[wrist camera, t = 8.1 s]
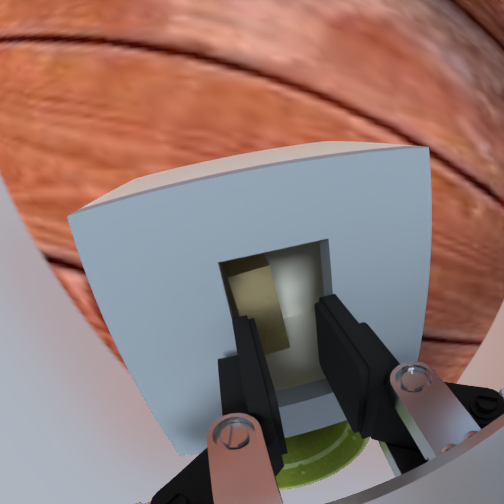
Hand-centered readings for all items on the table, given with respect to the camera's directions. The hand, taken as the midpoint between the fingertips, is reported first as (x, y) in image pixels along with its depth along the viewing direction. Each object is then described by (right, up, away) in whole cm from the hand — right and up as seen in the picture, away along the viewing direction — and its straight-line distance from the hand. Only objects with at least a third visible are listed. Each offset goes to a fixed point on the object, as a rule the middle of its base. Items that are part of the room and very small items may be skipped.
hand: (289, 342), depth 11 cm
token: (-2, +2, +9) cm, 9 cm away
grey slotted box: (-1, +3, +9) cm, 10 cm away
